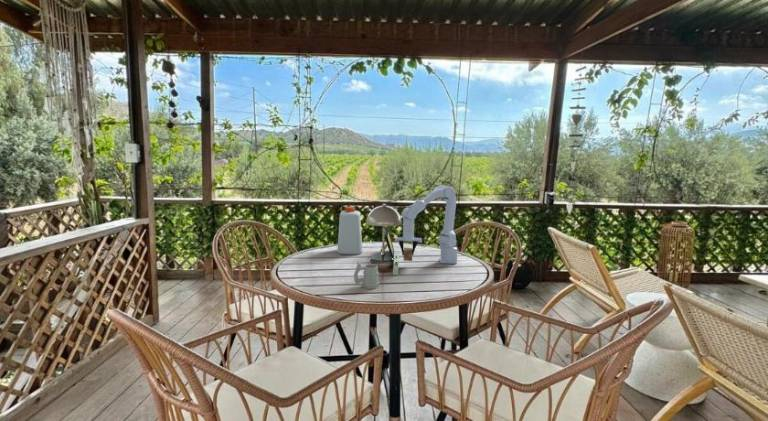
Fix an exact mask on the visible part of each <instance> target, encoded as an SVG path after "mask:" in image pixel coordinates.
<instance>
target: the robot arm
mask: <svg viewBox="0 0 768 421" xmlns="http://www.w3.org/2000/svg"><path fill="white" fill-rule="evenodd" d="M456 196H457V195H456V190H455V188H454V187H453V186H449V185H448V186H447V185H443V184H439V185H438V186H436V187H435V188H434V189H433V190H432V191H431V192H430V193H428V194H427V195H426V196H425V197H423V198H422V199H416V200H415V202H414V203H412V204H410V205H408V207H405V208H403V210H402V212H401V217H402V218H403V222H402V223H403V224H402V225H403V226H402V229H403V231H402V236H401V237H400V236H399V237H394V242H395V243H396V242H398V245H399V248H400V251H401V254H402V256H403V255H404V244H405V243H412V256H414V254H415V250H416V247H417V246H418V243H422V241H423V239H422V237H414V236H415V233H414V232H415V230H414V229H415V219H416V218H417V215H418V214H419V213H421V212H422V211H424V210H425V209H426V206H427V205H428V204H430V203H431V202H432V201H434V200H436V199H437V198H442V199H443V200H444V202H445V212H444V221H443V222H444V223H443V229H442V230H440V234H439V236H438V243H439V244H440V245H439V246H440V254H439V256H440V257H439V258H438V261H439V264H449V265H451V264H452V265H453V264H458V247H456V245H457V237H456V236H457V235H456V233H455V231H454V226H455V217H456V208H457V197H456ZM404 242H405V243H404Z"/></svg>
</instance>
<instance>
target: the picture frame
mask: <svg viewBox="0 0 768 421" xmlns="http://www.w3.org/2000/svg"><path fill="white" fill-rule="evenodd" d="M384 229H385V232H384V238H385V242H386V243H384V246H383V247H384V252H385V251H386V249H387V248H388V253H389V256H390V258H391V257H392V258H393V259H394V255H395V249H394V245H393V241H392V239H391V234H390V231H389V228H388V227H385V228H384ZM381 252H382V248H380V251H379V254H381Z"/></svg>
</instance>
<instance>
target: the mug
mask: <svg viewBox="0 0 768 421" xmlns="http://www.w3.org/2000/svg"><path fill="white" fill-rule="evenodd" d="M362 270H363V272H362V275H363V277H360V278H359V273H360V271H362ZM353 279H354V282H355V284H356V285H359V284H360V283H362V286H363V289H367V290H375V289H377V288H378V287H379V284H380V281H379V266H378V265H377V264H373V263H371V264H370V263H368V264H365V265H364V266H362V264H361V263H360V262H359V261H357V265H356V268H355V270H354V273H353Z"/></svg>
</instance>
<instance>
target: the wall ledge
mask: <svg viewBox="0 0 768 421" xmlns="http://www.w3.org/2000/svg"><path fill="white" fill-rule="evenodd" d="M399 259H400V254H394V261H393V267H392V268H393V269H392V275H393V276H398V275H399Z"/></svg>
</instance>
